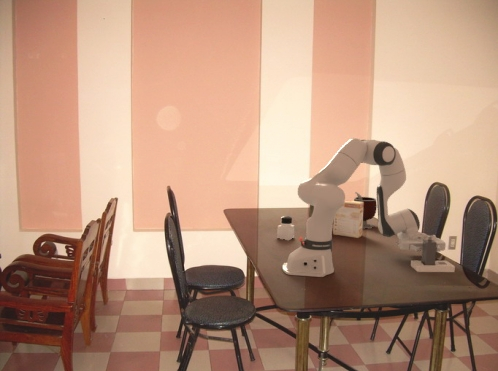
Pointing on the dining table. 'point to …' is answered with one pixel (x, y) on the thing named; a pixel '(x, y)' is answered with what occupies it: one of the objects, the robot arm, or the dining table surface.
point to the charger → (429, 251)
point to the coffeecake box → (349, 219)
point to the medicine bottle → (285, 228)
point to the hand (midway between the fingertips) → (428, 249)
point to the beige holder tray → (433, 266)
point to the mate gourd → (367, 209)
